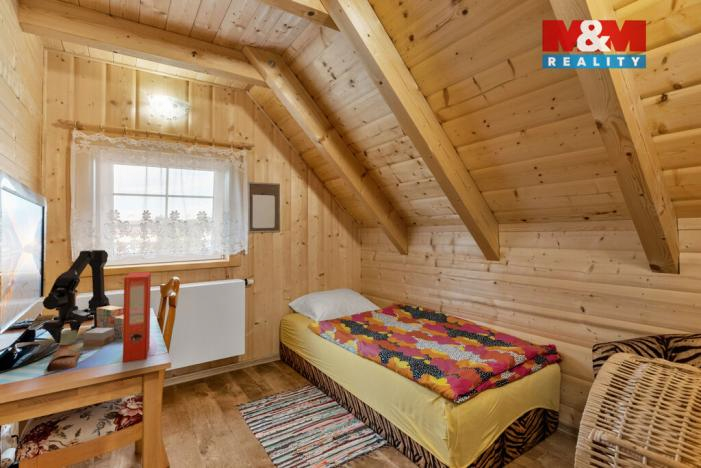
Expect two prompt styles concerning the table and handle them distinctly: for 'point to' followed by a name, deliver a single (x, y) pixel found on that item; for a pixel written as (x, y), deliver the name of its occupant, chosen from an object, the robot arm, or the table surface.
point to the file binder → (136, 316)
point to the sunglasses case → (63, 360)
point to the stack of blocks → (111, 319)
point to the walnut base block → (98, 341)
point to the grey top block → (98, 334)
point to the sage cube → (68, 337)
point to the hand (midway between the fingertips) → (66, 340)
